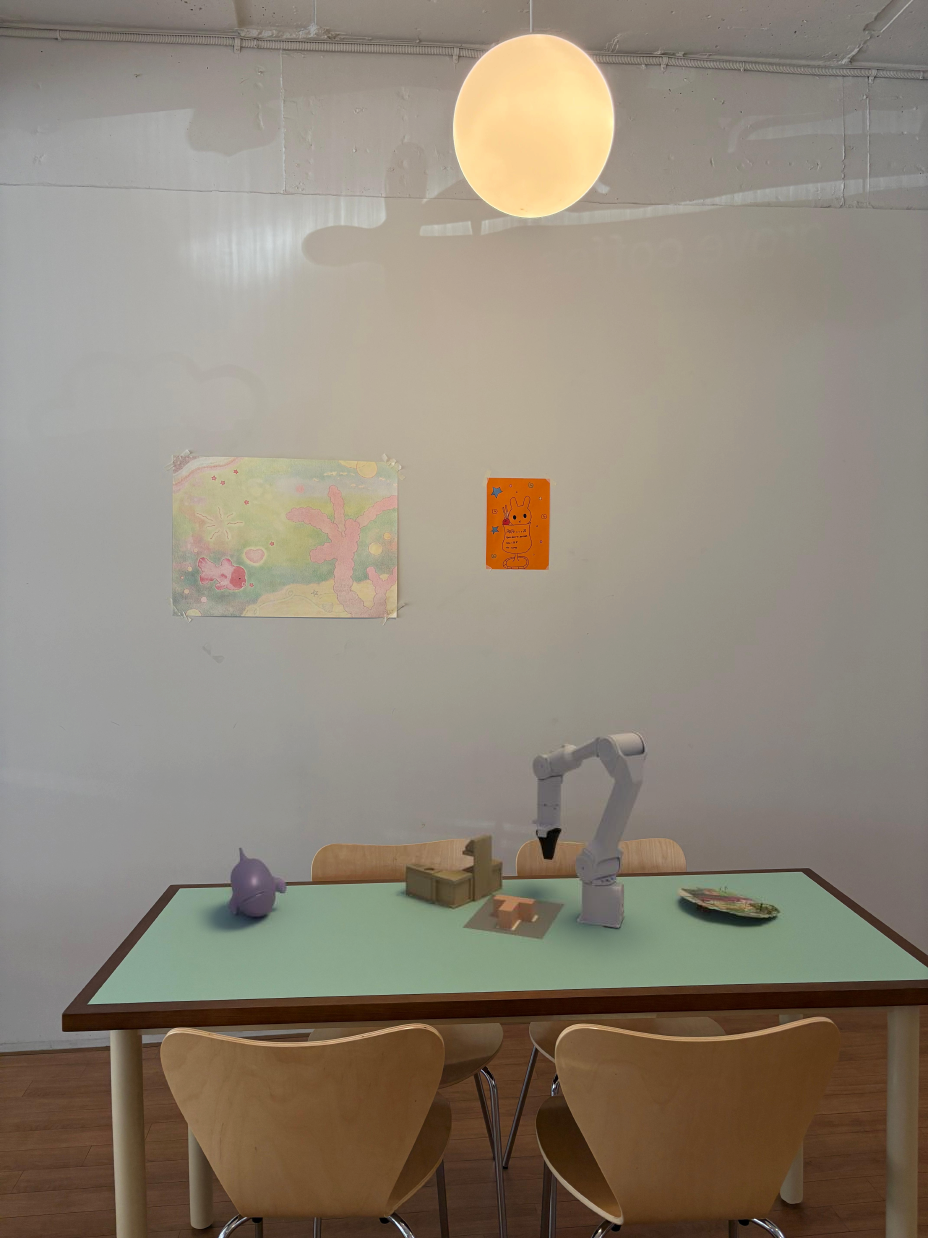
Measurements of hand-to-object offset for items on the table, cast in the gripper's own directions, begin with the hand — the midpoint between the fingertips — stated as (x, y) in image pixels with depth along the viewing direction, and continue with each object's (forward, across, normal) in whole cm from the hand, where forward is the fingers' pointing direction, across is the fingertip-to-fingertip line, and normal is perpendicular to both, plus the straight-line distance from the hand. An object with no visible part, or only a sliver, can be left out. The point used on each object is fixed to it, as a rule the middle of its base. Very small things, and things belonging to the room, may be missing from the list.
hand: (548, 859), depth 203 cm
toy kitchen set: (+10, +5, -22) cm, 25 cm away
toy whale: (+10, +32, -61) cm, 70 cm away
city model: (+10, -8, +42) cm, 44 cm away
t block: (+9, +19, -4) cm, 21 cm away
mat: (+9, +15, -4) cm, 18 cm away
